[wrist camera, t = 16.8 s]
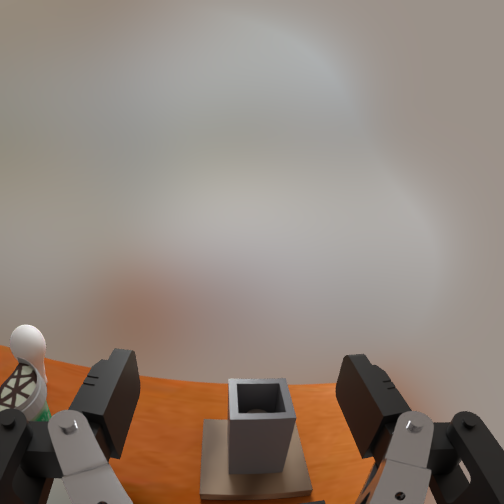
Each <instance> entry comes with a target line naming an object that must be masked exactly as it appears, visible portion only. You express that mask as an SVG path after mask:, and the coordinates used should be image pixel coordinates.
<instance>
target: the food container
mask: <svg viewBox="0 0 504 504" xmlns="http://www.w3.org/2000/svg"><path fill="white" fill-rule="evenodd" d="M17 358H18V362H19V364H18V366H17V367H16V369H15V371H14V372H13V373H12V375H11V376H10V377H9V378H8V379H7V380H6V381H5V382H4V383H3V384H2V385H1V387H0V411H2V410H5V409H10V408H13V409H18V410H20V411H21V412H23V413H24V415H25V416H26V418H27V420H28V421H49V420H50V418H51V417H52V416H51V413H50V411H49V408H48V405H47V402H46V396H47V388H46V384H45V382H44V380H43V378H42V377H41V375H40V373H39V372H38V370H37V369H36V368H35V367H34V366H33V365H32V364H31V363H30V362H29V361H27V360H25V359H23V358H20V357H17Z"/></svg>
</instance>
